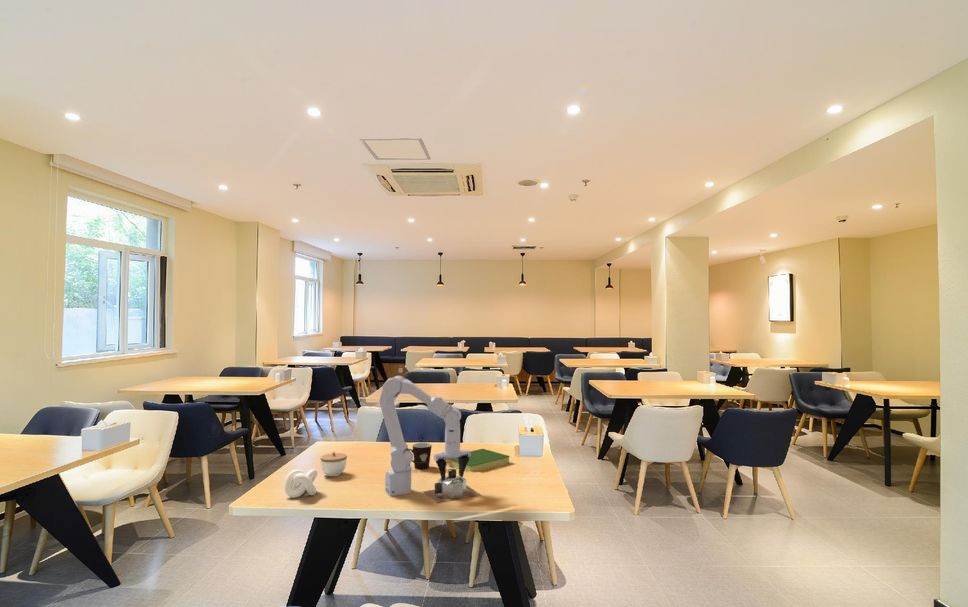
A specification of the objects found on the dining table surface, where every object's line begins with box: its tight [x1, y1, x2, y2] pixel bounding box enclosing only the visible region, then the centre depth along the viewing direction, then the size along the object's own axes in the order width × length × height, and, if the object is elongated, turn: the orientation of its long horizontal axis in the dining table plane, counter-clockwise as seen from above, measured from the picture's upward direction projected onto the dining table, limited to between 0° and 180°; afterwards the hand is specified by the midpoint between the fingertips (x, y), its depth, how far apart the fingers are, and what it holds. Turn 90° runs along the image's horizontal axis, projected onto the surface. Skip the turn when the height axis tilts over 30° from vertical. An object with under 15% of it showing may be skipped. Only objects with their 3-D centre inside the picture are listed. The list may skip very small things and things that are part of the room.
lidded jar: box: [320, 451, 348, 478], centre depth 203 cm, size 11×11×9 cm
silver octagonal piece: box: [434, 475, 467, 498], centre depth 177 cm, size 12×10×5 cm
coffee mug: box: [409, 442, 433, 471], centre depth 214 cm, size 12×9×10 cm
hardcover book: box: [444, 448, 511, 473], centre depth 220 cm, size 25×19×4 cm
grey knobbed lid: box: [443, 468, 462, 484], centre depth 178 cm, size 7×7×5 cm
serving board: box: [422, 484, 482, 504], centre depth 178 cm, size 18×14×1 cm
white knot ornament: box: [283, 468, 318, 499], centre depth 177 cm, size 11×12×9 cm
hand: (452, 477), depth 178 cm, fingers open, 7 cm apart
